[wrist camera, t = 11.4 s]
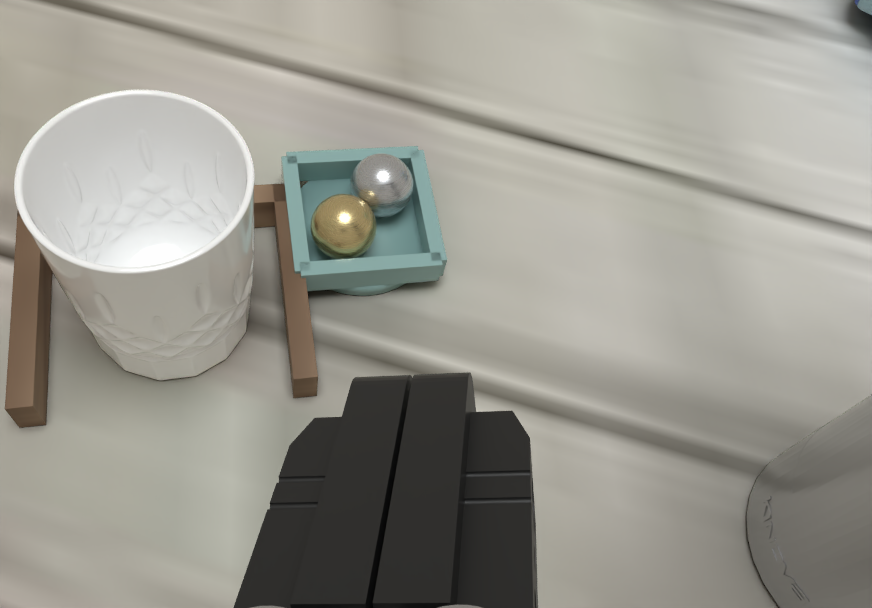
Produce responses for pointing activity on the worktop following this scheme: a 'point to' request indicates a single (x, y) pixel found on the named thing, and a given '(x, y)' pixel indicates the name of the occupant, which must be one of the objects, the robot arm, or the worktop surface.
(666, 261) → the worktop surface
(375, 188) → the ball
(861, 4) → the lunch box
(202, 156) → the white cup
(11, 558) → the worktop surface
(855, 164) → the worktop surface
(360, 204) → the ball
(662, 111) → the worktop surface
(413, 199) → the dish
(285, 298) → the cradle
